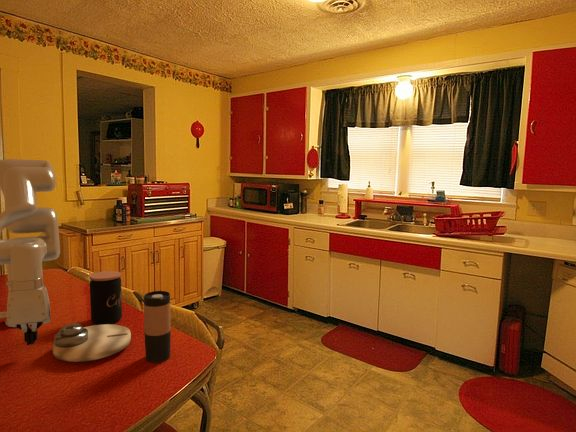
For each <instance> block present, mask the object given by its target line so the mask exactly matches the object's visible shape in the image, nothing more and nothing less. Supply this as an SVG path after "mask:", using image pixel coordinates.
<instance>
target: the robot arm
mask: <svg viewBox="0 0 576 432" xmlns="http://www.w3.org/2000/svg"><path fill="white" fill-rule="evenodd" d="M56 179H57V178H56V174H55V171H54V167H53V165H52V163H51V162H50V161H48V160H43V159H41V160H40V159H22V158H21V159H18V158H8V159H7V158H6V159H0V191H1V192H2V195H3V198H4V210H3V211H2V212H1V213H0V235H2V232H3V230H5V229H7V231H8V232H10V233H12V234H15V235H16V234H17V235H18V234H19V235H23V234H26V235H27V234H37V233H39V234H40V233H41V234H44V235H43V236H42V235H41V236H40V235H39V236H25V237H15V238H6V239H0V265H1V266H2V265H6V266H5V267H6V274H7V275H6V276H7V281H6V282H5V286H7V287H8V294H7V301H6V302H7V305H6V311H0V320H1V319H6V320H5V325H6V326H7V327H8V328H9V327H11V328H18V329H19V330H20V331H21V332H22V333H23V336H24V337H23V338H24V342H25V343H26V346H29V345H31V346H32V345H35V342H37V340H38V337H39V336H38V335H39V334H38V329H39V328H40V327H41V326H43V325H45V324H49V323H50V322H51V321H52V318H51V315H50V314H51V303H50V299H49V293H48V290H47V287H46V285H44V277H43V275H44V274H43V262H48V261H54V260H57V259H58V258H60V255H61V245H60V244H61V242H60V230H59V229H60V228H59V219H58V215H57V211H56V210H55V209H54V208H52V207H47V206H46V207H45V206H44V207H38V202H37V194H36V193H38V192H39V193H40V192H45V193H46V192H47V193H48V192H52V191H53V192H54V190H55V188H56V186H57V180H56ZM30 326H31V327H30Z"/></svg>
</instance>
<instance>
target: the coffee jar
mask: <svg viewBox="0 0 576 432" xmlns="http://www.w3.org/2000/svg"><path fill="white" fill-rule="evenodd" d="M121 276H122V274H121V272H120V271H116V270H103V271H98V272H94V273H92V274H90V275H89V280H90V281H89V299H90V301H89V304H90V306H89V307H90V320H91V322H92V324H93V325H104V324H112V325H115V324H117V323H119V322H120V321H121V319H122V317H123V303H122V302H123V301H122V300H123V298H122V296H123V295H122V279H121V278H120V277H121Z"/></svg>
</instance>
